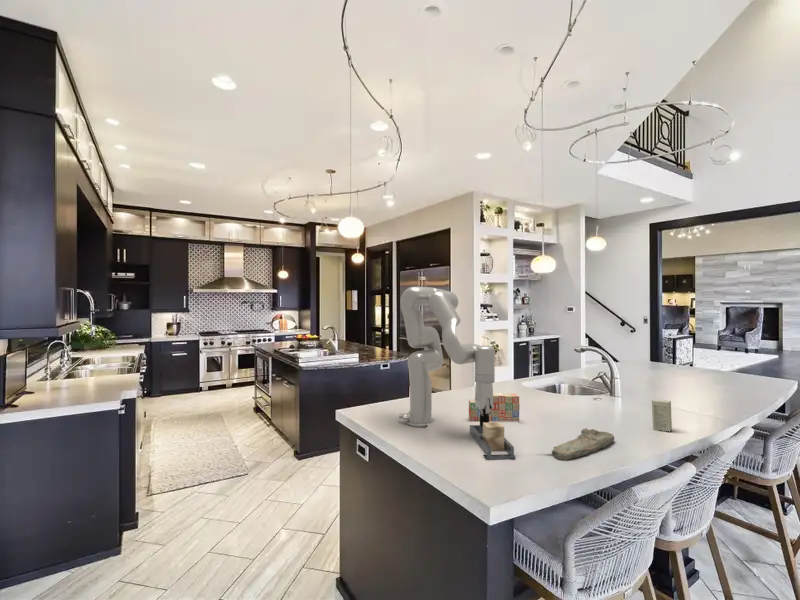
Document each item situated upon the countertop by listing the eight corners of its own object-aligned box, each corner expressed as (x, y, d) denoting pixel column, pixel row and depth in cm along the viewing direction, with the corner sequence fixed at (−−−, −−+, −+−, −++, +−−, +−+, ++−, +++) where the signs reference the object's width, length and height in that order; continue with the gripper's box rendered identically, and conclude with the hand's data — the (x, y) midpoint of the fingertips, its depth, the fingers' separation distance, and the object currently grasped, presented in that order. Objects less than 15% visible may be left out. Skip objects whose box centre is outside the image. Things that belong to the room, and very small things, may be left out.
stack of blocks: (470, 423, 180) (470, 395, 180) (468, 419, 186) (468, 392, 186) (519, 424, 179) (519, 395, 180) (516, 420, 186) (515, 392, 186)
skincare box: (672, 430, 170) (671, 400, 170) (670, 432, 167) (669, 402, 167) (654, 427, 174) (654, 398, 175) (651, 429, 171) (651, 400, 171)
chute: (486, 459, 137) (486, 447, 138) (468, 435, 163) (468, 425, 163) (515, 459, 138) (515, 447, 138) (493, 434, 164) (493, 424, 164)
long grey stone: (543, 459, 142) (570, 470, 134) (543, 444, 142) (570, 454, 134) (595, 434, 163) (621, 442, 155) (595, 421, 163) (621, 429, 155)
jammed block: (487, 450, 143) (487, 427, 143) (482, 444, 149) (482, 422, 149) (504, 450, 144) (504, 427, 144) (499, 444, 150) (499, 422, 150)
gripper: (470, 374, 165) (470, 420, 165) (479, 381, 150) (479, 432, 150) (488, 374, 166) (488, 420, 165) (500, 381, 151) (499, 431, 151)
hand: (484, 425), depth 158 cm, fingers closed
